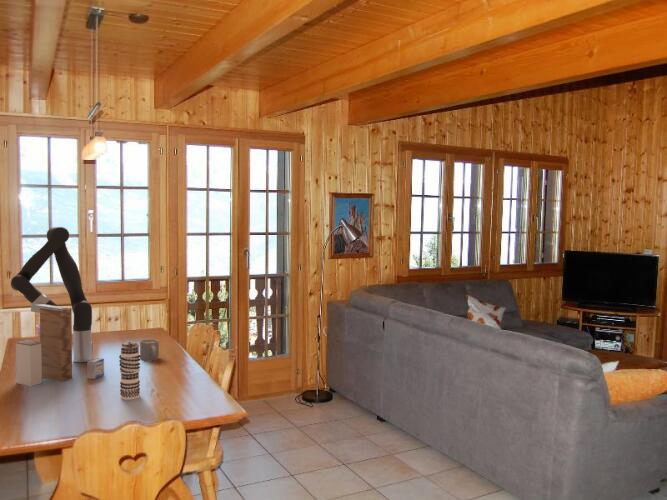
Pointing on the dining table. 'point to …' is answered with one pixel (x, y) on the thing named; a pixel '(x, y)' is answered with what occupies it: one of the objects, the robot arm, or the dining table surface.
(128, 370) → the decorative candle
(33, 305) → the bar
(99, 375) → the medicine box
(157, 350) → the coffee mug
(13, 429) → the dining table surface
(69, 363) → the stand
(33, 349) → the block
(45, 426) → the dining table surface
